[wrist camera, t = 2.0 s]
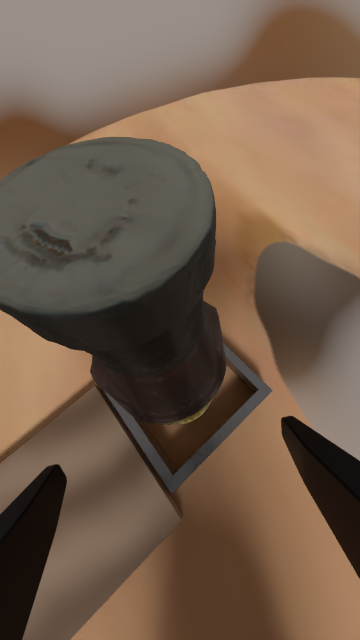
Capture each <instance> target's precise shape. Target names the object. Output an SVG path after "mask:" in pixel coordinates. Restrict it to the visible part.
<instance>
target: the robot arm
mask: <svg viewBox="0 0 360 640" xmlns="http://www.w3.org/2000/svg"><path fill="white" fill-rule="evenodd" d="M281 428H282V436H283V439H284V441H285V443H286V445H287V448H288V450H289V452H290V454H291V456H292V458H293V460H294V463H295V465H296V467H297V469H298V471H299V473H300V475H301V478H302V480H303V482H304V483H305V485H306V487H307V489H308V491H309V492H310V494H311V496H312V498H313V499H314V501H315V503H316V504H317V506H318V508H319V510H320V511H321V513H322V515H323V516H324V518H325V520H326V522H327V523H328V525H329V527H330V529H331V530H332V532H333V534H334V535H335V537H336V539H337V541H338V542H339V544H340V546H341V547H342V549H343V551H344V553H345V554H346V556H347V558H348V560H349V561H350V563H351V565H352V566H353V568H354V570H355V572H356V573H357V575H358V577H359V578H360V461H359V460H357V459H356V458H355V457H353V456H352V455H350V454H348V453H347V452H345V451H344V450H343V449H341V448H340V447H338V446H337V445H335V444H334V443H332V442H331V441H329V440H327V439H326V438H324V437H323V436H322V435H320V434H319V433H317V432H316V431H314V430H313V429H311V428H310V427H308V426H307V425H305V424H304V423H302V422H301V421H299V420H298V419H296V418H295V417H293V416H287V417H283V418H282V419H281ZM66 485H67V477H66V475H65V473H64V472H63V470H62V468H61V466H60V465H59V464H54V465H49V466H47V467H46V468H45V469H44V470H43V471H42V472H41V473H40V474H39V475H38V476H37V477H36V478H35V479H34V480H33V481H32V482H31V483H30V484H29V485H28V486H27V487H26V488H25V489H24V490H23V491H22V492H21V493H20V494H19V495H18V497H17V498H16V499H15V500H14V501H13V502H12V503H11V504H10V505H9V506H8V507H7V508H6V509H5V510H4V511H3V512H2V513H1V514H0V640H22V639H23V636H24V633H25V629H26V626H27V623H28V620H29V617H30V613H31V610H32V607H33V604H34V601H35V597H36V594H37V591H38V588H39V584H40V581H41V578H42V575H43V572H44V568H45V565H46V562H47V559H48V555H49V552H50V549H51V546H52V543H53V539H54V536H55V532H56V529H57V525H58V520H59V516H60V512H61V507H62V503H63V498H64V494H65V489H66Z"/></svg>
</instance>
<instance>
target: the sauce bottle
mask: <svg viewBox="0 0 360 640" xmlns="http://www.w3.org/2000/svg"><path fill="white" fill-rule="evenodd" d="M215 232H216V208H215V201H214V195H213V191H212V187H211V183H210V180H209V179H208V177H207V175H206V173H205V172H204V171H202V169H201V167H200V165H199V163H198V162H197V161H196V160H194V159H193V158H191V157H189V156H188V155H187V154H186V153H185V152H183V151H181V150H179V149H177V148H175V147H173V146H171V145H169V144H165V143H162V142H158V141H155V140H151V139H137V138H130V137H105V138H98V139H93V140H87V141H82V142H78V143H74V144H70V145H67V146H63V147H60V148H58V149H55V150H53V151H51V152H49V153H47V154H45V155H43V156H41V157H38V158H35V159H32V160H30V161H28V162H27V163H25V164H23V165H22V166H20V167H19V168H17V169H15V170H13V171H12V172H10V173H9V174H8V175H7V176H5V177H4V178H3V179H2V180H1V181H0V310H1V311H3V312H5V313H7V314H9V315H11V316H13V317H14V318H15V319H17V320H18V321H19V322H21V323H22V324H24V325H25V326H27V327H28V328H30V329H31V330H32V331H33V332H35V333H36V334H38V335H39V336H41V337H43V338H44V339H46V340H47V341H51V342H55V343H58V344H60V345H63V346H65V347H67V348H70V349H74V350H82V351H86V352H87V353H90V354H92V355H93V357H92V365H91V370H90V372H91V375H92V377H93V379H94V381H95V382H96V383H97V384H98V385H99V386H100V387H101V388H102V389H103V390H104V391H106V392H107V393H108V394H109V395H110V396H111V397H112V398H113V399H114V400H115V401H116V402H117V403H118V404H119V405H120V406H121V407H123V408H124V409H125V410H126V411H127V412H128V413H129V414H130V415H132V416H133V417H134V418H137V419H139V420H141V421H144V422H148V423H153V424H168V425H171V424H175V425H177V424H185V423H189V422H191V421H193V420H195V419H197V418H198V417H200V416H201V415H202V414H203V413H204V412H205V411H206V409H207V408H208V406H209V405H210V403H211V401H212V400H213V398H214V397H215V395H216V394H217V392H218V390H219V388H220V386H221V384H222V382H223V379H224V375H225V371H226V357H225V351H224V345H223V340H222V334H221V328H220V322H219V316H218V313H217V310H216V308H215V307H213V306H211V305H209V304H208V303H206V302H205V301H203V291H204V289H205V287H206V285H207V283H208V282H209V280H210V278H211V275H212V272H213V267H214V252H215V244H216V240H215Z"/></svg>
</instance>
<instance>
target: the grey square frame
mask: <svg viewBox="0 0 360 640" xmlns="http://www.w3.org/2000/svg"><path fill="white" fill-rule="evenodd" d="M223 345H224V351H225V357H226V364H227V365H228V366H229V367H230V368H231V369H232V370H233V371H234V372H235V373H236V375H237V376H238V377H239V378H240V379H241V380H242V381H243V382H244V383H245V384H246V385H247V386H248V387H249V388H250V389H251V390H252V391H253V393H252V394H251V395H250V396H249V397H248V398H247V400H246V401H245V402H244V403H243V404H242V405H241V406H240V407H239V408H238V409H237V410H236V411H235V412H234V413H233V414H232V415H231V416H230V417H229V418H228V419H227V420H226V421H225V422H224V423H223V424H222V425H221V426H220V427H219V428H218V429H217V430H216V431H215V432H214V433H213V434H212V435H211V436H210V437H209V438H208V439H207V440H206V441H205V442H204V443H203V444H202V445H201V446H200V447H199V448H198V449H197V450H196V451H195V452H194V453H193V454H192V455H191V456H190V457H189V458H188V459H187V460H186V461H185V462H184V463H183V464H182V465H181V466H180V467H179V468H178V469H177V470H176V469H175V468H174V466H173V465H172V463H171V462H170V460H169V459H168V458H167V456H166V455H165V453H164V452H163V450H162V449H161V448H160V446H159V445H158V443H157V442H156V440H155V439H154V437H153V436H152V435H151V433H150V432H149V430H148V429H147V427H146V426H145V424H144V423H143V422H142V421H141V420H139V419H137V418H134V417H133V416H132V415H130V414H129V413H128V412H127V411H126V410H125V409H124V408H123V407H121V406H120V405H119V404H118V403H117V402H116V401H115V400H114V399H113V398H112V397H111V396H110V395H109V394H108V393H107V392H106V391H104V392H105V393H106V395H107V396H108V398H109V399H110V401H111V402H112V404H113V405H114V407H115V408H116V410H117V411H118V413H119V414H120V416H121V417H122V419H123V421H124V422H125V424H126V425H127V427H128V428H129V430H130V431H131V433H132V434H133V436H134V437H135V439H136V440H137V442H138V443H139V445H140V446H141V448H142V449H143V451H144V453H145V454H146V456H147V457H148V459H149V460H150V462H151V463H152V465H153V466H154V468H155V469H156V471H157V472H158V474H159V475H160V477H161V478H162V480H163V481H164V483H165V484H166V486H167V488H168V489H169V491H170V492H171V494H172V493H173V492H174V491H175V490H176V489H177V488H178V487H179V486H180V485H181V484H182V483H183V482H184V481H185V480H186V479H187V478H188V477H189V476H190V475H191V474H192V473H193V472H194V471H195V470H196V469H197V467H198V466H199V465H200V464H201V463H202V462H203V461H204V460H205V459H206V458H207V457H208V456H209V455H210V454H211V453H212V452H213V451H214V450H215V449H216V448H217V447H218V446H219V445H220V444H221V443H222V442H223V441H224V440H225V439H226V438H227V437H228V436H229V435H230V434H231V433H232V432H233V431H234V429H235V428H236V427H237V426H238V425H239V424H240V423H241V422H242V421H243V420H244V419H245V418H246V417H247V416H248V415H249V414H250V413H251V412H252V411H253V410H254V409H255V408H256V407H257V406H258V405H259V404H260V403H261V402H262V401H263V400H264V399H265V398H266V397H267V396H268V395H269V394H270V393H271V392H272V390H271V389H270V388H269V387H268V386H267V385H266V384H265V383H264V382H263V381H262V380H261V379H260V378H259V377H258V376H257V375H256V374H255V373H254V372H253V371H252V370H251V369H250V368H249V367H248V366H247V365H246V364H245V363H244V362H243V361H242V360H241V359H240V358H239V357H238V356H237V355H236V354H234V353H233V352H232V351H231V350H230V349H229V348H228V347H227V346H226V345H225V344H224V343H223Z"/></svg>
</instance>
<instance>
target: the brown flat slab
mask: <svg viewBox="0 0 360 640" xmlns="http://www.w3.org/2000/svg"><path fill="white" fill-rule="evenodd" d="M54 464H59V465H60V466H61V468H62V470H63V472H64V473H65V475H66V477H67V485H66V489H65V494H64V498H63V503H62V507H61V512H60V516H59V520H58V525H57V529H56V532H55V536H54V539H53V543H52V546H51V549H50V552H49V555H48V559H47V562H46V565H45V568H44V572H43V575H42V578H41V581H40V584H39V588H38V591H37V594H36V597H35V601H34V604H33V607H32V610H31V613H30V617H29V620H28V623H27V626H26V629H25V633H24V636H23V639H22V640H70V639H71V638H72V637H73V636H74V635H75V634H76V633H77V632H78V631H79V629H80V628H81V627H82V626H83V625H84V624H85V623H86V622H87V621H88V620H89V619H90V618H91V617H92V616H93V614H94V613H95V612H96V611H97V610H98V609H99V608H100V607H101V606H102V605H103V604H104V603H105V602H106V601H107V600H108V598H109V597H110V596H111V595H112V594H113V593H114V592H115V591H116V590H117V589H118V588H119V587H120V586H121V585H122V583H123V582H124V581H125V580H126V579H127V578H128V577H129V576H130V575H131V574H132V573H133V572H134V571H135V570H136V568H137V567H138V566H139V565H140V564H141V563H142V562H143V561H144V560H145V559H146V558H147V557H148V556H149V555H150V553H151V552H152V551H153V550H154V549H155V548H156V547H157V546H158V545H159V544H160V543H161V542H162V541H163V540H164V538H165V537H166V536H167V535H168V534H169V533H170V532H171V531H172V530H173V529H174V528H175V527H176V526H177V525H178V524H179V522H180V521H181V520H182V516H183V514H182V513H181V511H180V510H179V508H178V507H177V505H176V504H175V502H174V500H173V499H172V497H171V496H170V494H169V493H168V491H167V490H166V488H165V487H164V485H163V484H162V482H161V481H160V479H159V477H158V476H157V474H156V473H155V471H154V470H153V468H152V467H151V465H150V464H149V462H148V461H147V459H146V458H145V456H144V454H143V453H142V451H141V450H140V448H139V447H138V445H137V444H136V442H135V441H134V439H133V438H132V436H131V435H130V433H129V431H128V430H127V428H126V427H125V425H124V424H123V422H122V421H121V419H120V418H119V416H118V415H117V413H116V412H115V410H114V408H113V407H112V405H111V404H110V402H109V401H108V399H107V398H106V396H105V395H104V393H103V392H102V390H101V389H100V387H98V386H94V387H93V388H91V389H90V390H89V391H88V392H86V393H85V394H84V395H83V396H82V397H80V398H79V399H78V400H77V401H76V402H74V403H73V404H72V405H71V406H69V407H68V408H67V409H66V410H65V411H63V412H62V413H61V414H60V415H58V416H57V417H56V418H55V419H54V420H52V421H51V422H50V423H49V424H48V425H46V426H45V427H44V428H43V429H41V430H40V431H39V432H38V433H37V434H35V435H34V436H33V437H32V438H31V439H29V440H28V441H27V442H26V443H24V444H23V445H22V446H21V447H20V448H18V449H17V450H16V451H15V452H13V453H12V454H11V455H10V456H9V457H7V458H6V459H5V460H4V461H3V462H1V463H0V514H1V513H2V512H3V511H4V510H5V509H6V508H7V507H8V506H9V505H10V504H11V503H12V502H13V501H14V500H15V499H16V498H17V497H18V495H19V494H20V493H21V492H22V491H23V490H24V489H25V488H26V487H27V486H28V485H29V484H30V483H31V482H32V481H33V480H34V479H35V478H36V477H37V476H38V475H39V474H40V473H41V472H42V471H43V470H44V469H45V468H46V467H47V466H49V465H54Z"/></svg>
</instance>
